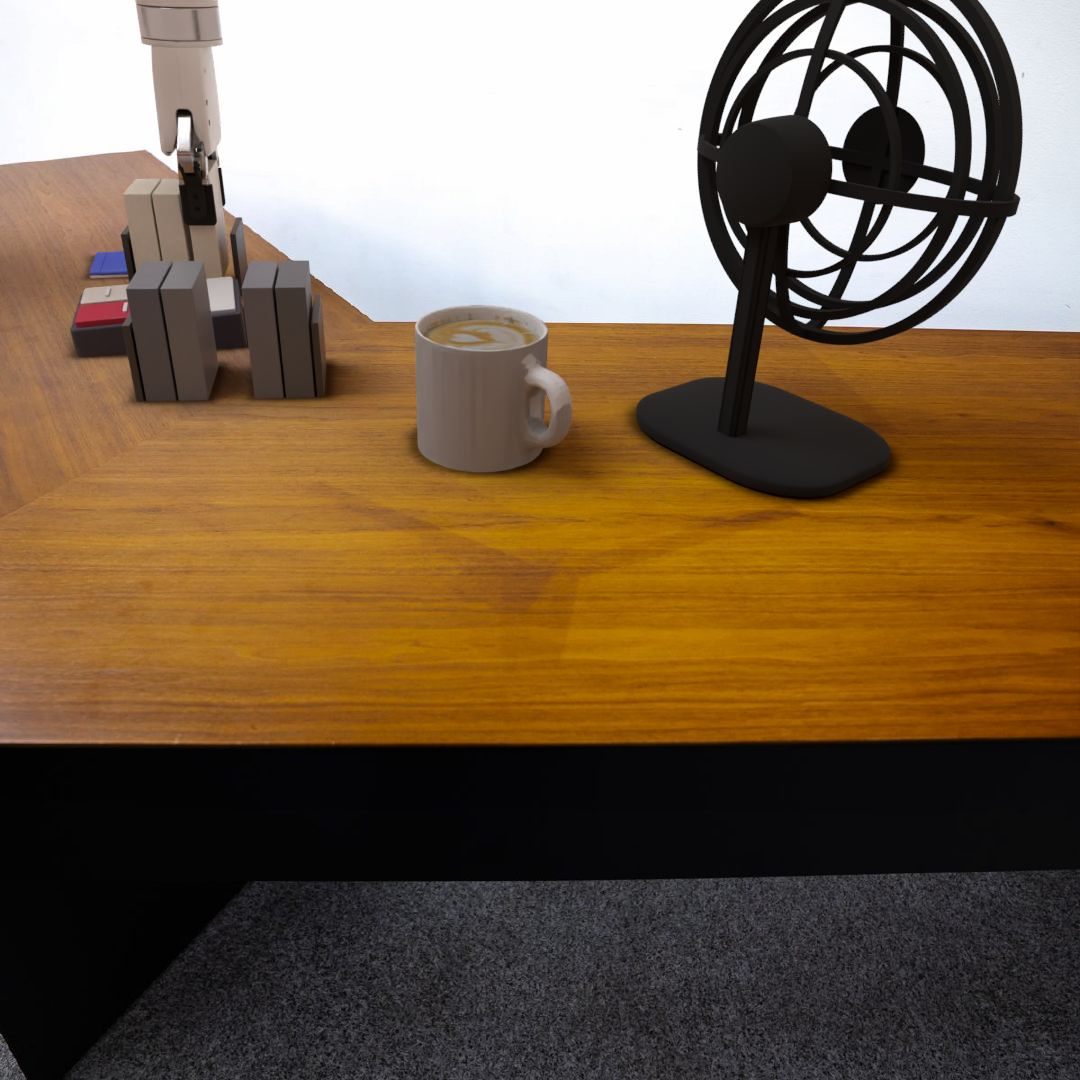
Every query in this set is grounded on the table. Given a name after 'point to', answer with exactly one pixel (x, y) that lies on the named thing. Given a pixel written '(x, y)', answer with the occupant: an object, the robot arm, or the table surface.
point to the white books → (166, 228)
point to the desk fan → (795, 194)
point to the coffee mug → (486, 388)
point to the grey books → (188, 337)
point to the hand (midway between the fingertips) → (205, 213)
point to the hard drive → (109, 265)
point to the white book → (212, 233)
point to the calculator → (109, 309)
